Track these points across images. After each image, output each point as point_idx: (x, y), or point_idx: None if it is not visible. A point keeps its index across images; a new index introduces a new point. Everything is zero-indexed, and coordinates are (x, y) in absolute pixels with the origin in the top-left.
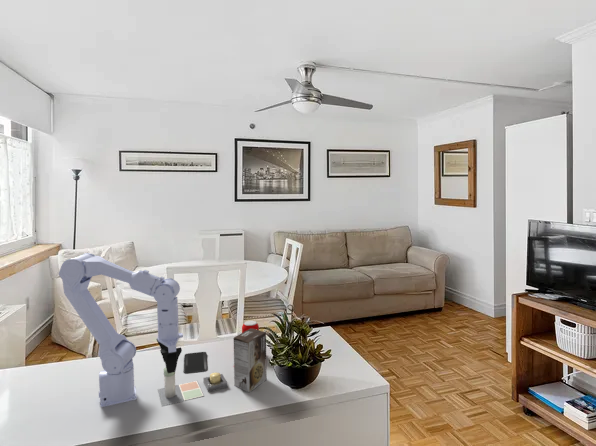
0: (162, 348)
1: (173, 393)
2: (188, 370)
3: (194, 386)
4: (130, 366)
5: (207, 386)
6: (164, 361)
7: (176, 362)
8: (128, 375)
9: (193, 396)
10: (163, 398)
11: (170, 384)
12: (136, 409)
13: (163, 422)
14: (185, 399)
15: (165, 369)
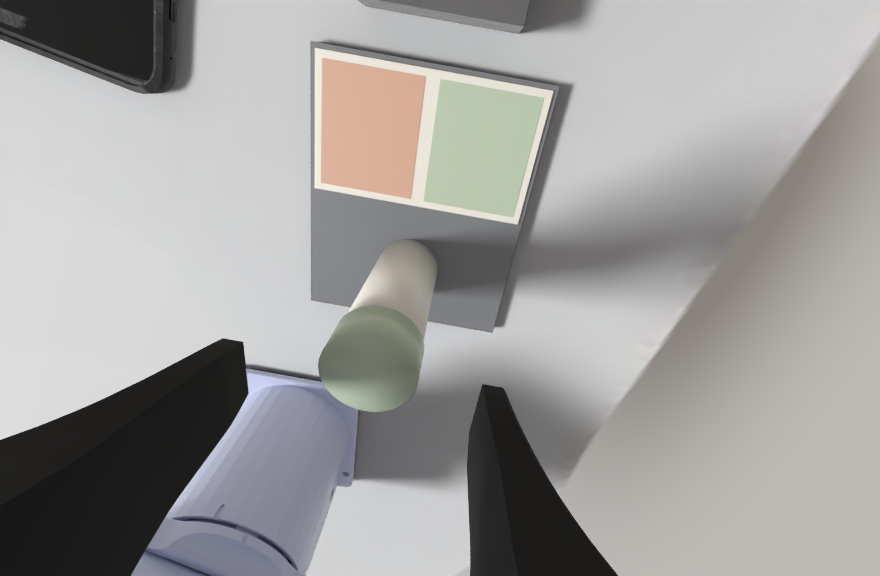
0: (141, 541)
1: (434, 266)
2: (120, 44)
3: (391, 100)
4: (240, 552)
5: (508, 24)
6: (245, 394)
7: (542, 475)
8: (295, 523)
9: (513, 158)
10: None
11: (428, 314)
12: (431, 403)
13: (613, 355)
14: (514, 215)
15: (366, 400)
